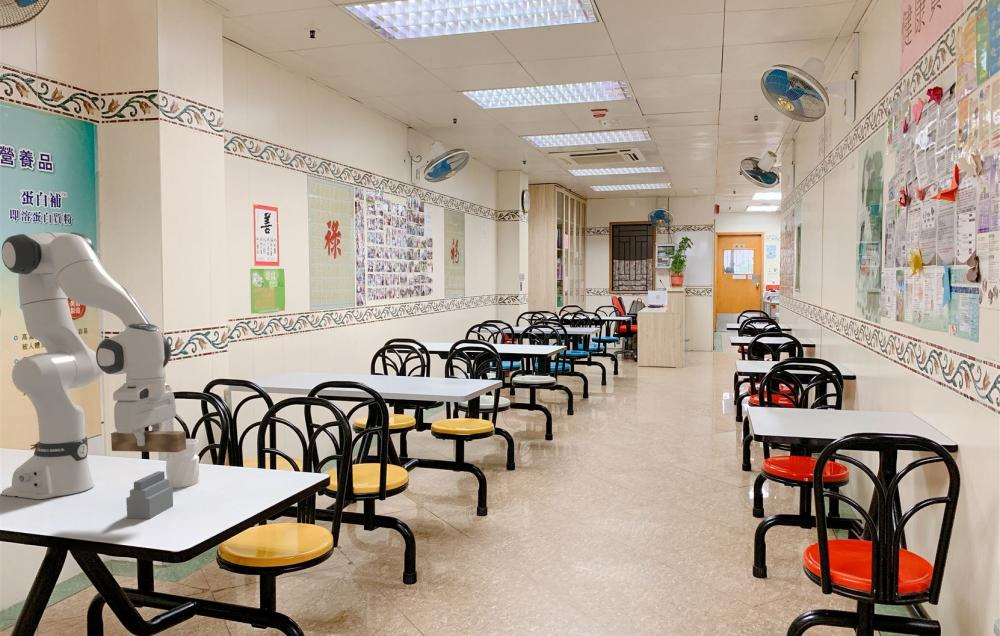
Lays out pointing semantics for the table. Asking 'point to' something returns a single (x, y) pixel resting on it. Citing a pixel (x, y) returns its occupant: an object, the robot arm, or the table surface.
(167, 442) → the walnut bar
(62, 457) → the robot arm
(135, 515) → the ridge block
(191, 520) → the table surface
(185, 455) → the vase
